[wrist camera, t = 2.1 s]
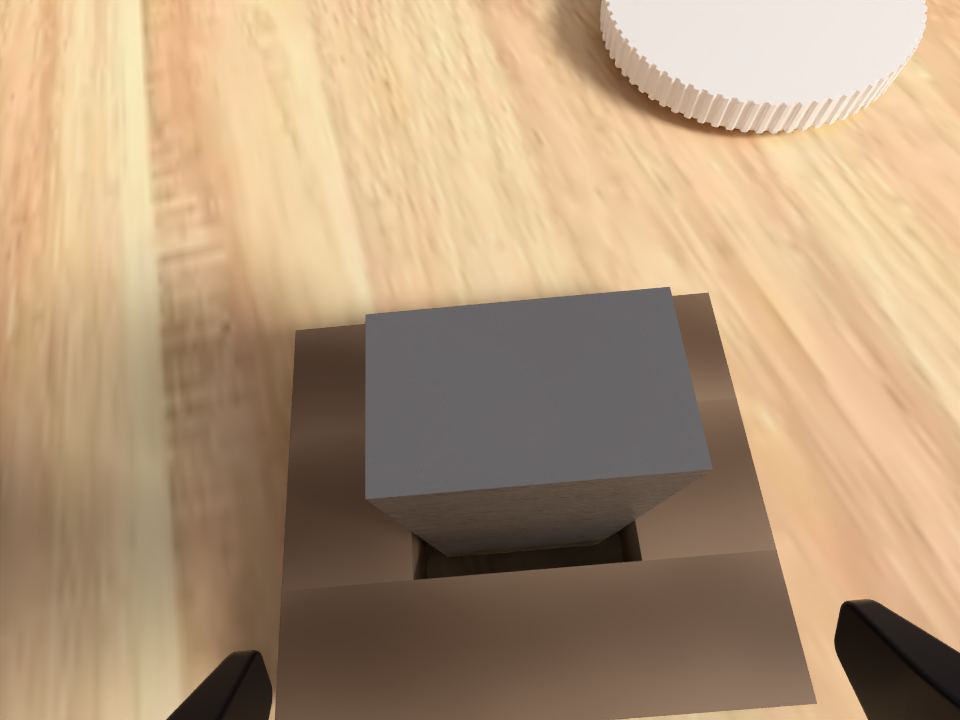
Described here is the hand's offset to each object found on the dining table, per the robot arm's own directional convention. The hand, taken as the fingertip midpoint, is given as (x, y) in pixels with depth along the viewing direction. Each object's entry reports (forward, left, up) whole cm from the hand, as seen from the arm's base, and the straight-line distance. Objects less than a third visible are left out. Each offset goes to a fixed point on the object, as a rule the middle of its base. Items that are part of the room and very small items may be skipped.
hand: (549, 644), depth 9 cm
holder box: (+2, +3, -10) cm, 11 cm away
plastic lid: (+26, +11, -11) cm, 31 cm away
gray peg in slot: (+2, +3, -10) cm, 11 cm away
